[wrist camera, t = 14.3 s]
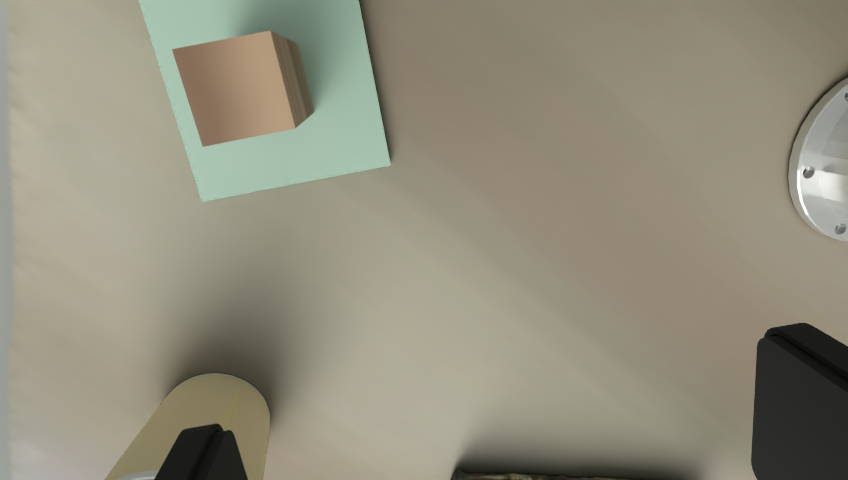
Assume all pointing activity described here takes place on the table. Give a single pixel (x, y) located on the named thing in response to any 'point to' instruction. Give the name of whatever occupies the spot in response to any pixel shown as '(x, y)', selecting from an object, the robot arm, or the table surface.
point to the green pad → (326, 77)
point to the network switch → (514, 477)
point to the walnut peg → (244, 86)
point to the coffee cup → (195, 407)
